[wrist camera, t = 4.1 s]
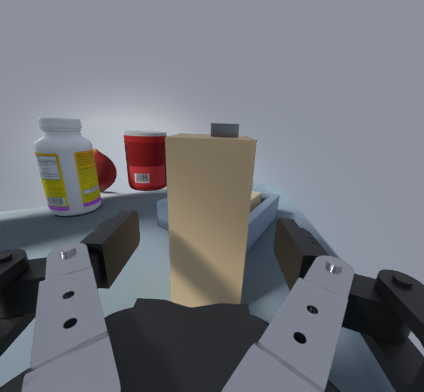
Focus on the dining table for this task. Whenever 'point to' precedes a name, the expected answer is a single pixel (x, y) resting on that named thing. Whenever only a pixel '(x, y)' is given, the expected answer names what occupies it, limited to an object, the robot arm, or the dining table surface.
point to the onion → (104, 170)
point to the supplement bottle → (67, 167)
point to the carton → (208, 213)
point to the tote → (257, 218)
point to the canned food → (146, 159)
